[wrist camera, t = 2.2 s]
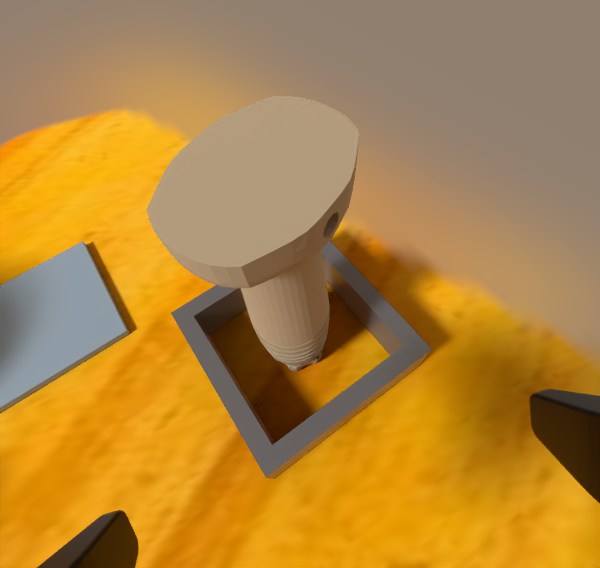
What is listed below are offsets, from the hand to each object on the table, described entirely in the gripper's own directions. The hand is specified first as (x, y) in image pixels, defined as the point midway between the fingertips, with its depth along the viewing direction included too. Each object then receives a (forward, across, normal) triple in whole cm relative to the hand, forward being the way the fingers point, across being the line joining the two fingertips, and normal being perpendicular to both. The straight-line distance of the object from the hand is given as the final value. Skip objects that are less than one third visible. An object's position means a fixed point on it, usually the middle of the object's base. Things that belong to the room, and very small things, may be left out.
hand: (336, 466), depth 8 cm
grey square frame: (+15, 0, -4) cm, 15 cm away
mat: (+20, -16, 0) cm, 26 cm away
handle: (+15, 0, -4) cm, 16 cm away
